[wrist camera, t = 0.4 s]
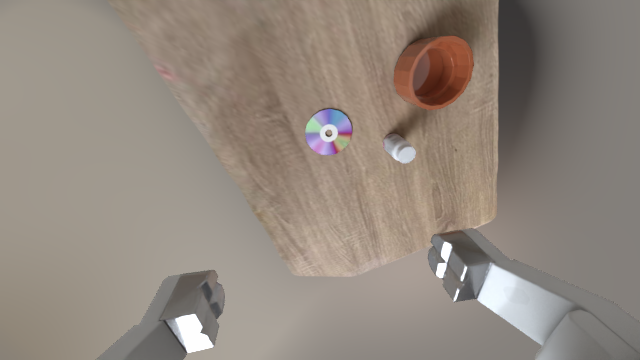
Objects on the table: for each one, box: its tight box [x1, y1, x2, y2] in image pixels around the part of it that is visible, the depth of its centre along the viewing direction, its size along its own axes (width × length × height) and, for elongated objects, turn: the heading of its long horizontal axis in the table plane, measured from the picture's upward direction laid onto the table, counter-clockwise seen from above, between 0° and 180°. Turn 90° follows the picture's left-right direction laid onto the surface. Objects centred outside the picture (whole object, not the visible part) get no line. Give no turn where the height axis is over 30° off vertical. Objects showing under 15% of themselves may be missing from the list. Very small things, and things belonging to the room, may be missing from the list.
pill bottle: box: [383, 134, 416, 163], centre depth 54 cm, size 5×5×8 cm
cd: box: [305, 109, 352, 155], centre depth 54 cm, size 11×11×1 cm
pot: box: [394, 35, 474, 110], centre depth 47 cm, size 13×13×8 cm
